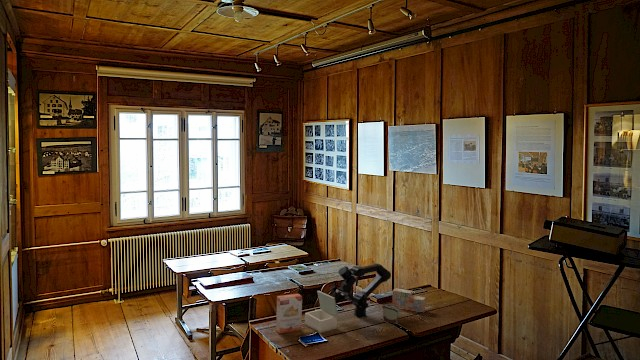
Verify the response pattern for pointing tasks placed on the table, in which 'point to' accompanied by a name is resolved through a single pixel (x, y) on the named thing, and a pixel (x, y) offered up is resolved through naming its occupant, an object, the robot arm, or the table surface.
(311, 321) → the chest
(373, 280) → the robot arm
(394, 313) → the food container
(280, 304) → the cracker box
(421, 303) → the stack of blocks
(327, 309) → the chest lid
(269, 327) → the table surface
